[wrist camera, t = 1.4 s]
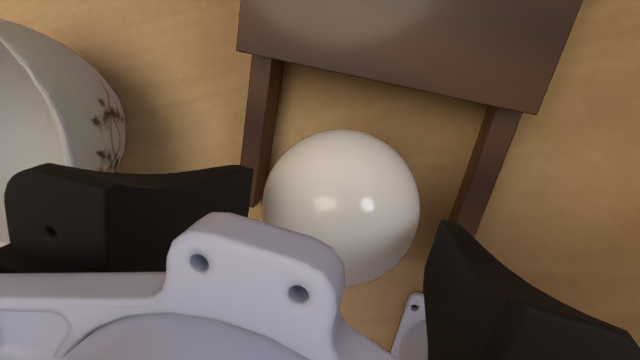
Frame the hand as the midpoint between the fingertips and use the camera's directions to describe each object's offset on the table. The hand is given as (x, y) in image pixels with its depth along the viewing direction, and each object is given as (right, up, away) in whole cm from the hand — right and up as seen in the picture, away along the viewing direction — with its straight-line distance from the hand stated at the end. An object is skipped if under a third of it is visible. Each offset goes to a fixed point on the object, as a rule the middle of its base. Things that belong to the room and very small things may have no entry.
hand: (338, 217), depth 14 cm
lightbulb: (+2, +3, +9) cm, 10 cm away
